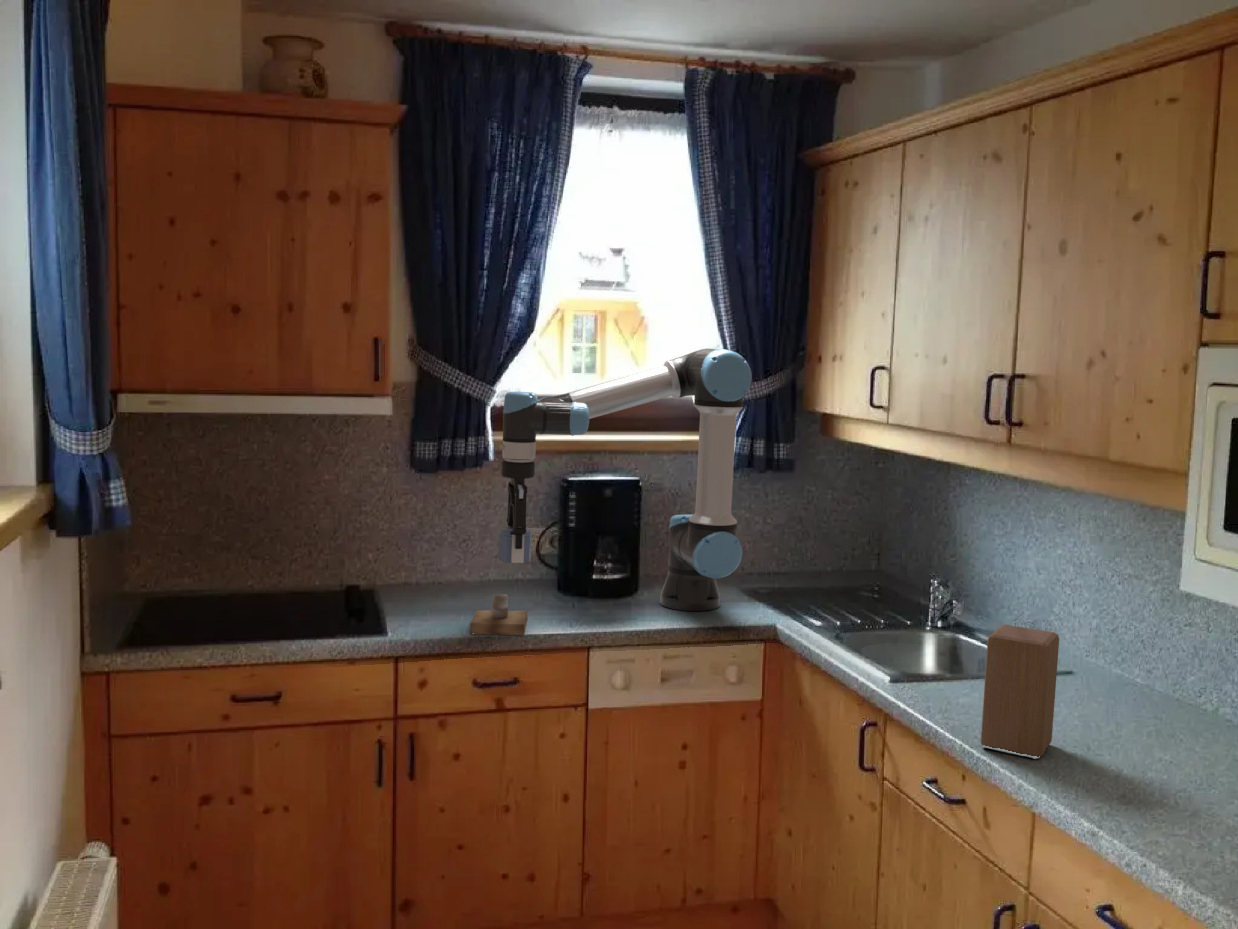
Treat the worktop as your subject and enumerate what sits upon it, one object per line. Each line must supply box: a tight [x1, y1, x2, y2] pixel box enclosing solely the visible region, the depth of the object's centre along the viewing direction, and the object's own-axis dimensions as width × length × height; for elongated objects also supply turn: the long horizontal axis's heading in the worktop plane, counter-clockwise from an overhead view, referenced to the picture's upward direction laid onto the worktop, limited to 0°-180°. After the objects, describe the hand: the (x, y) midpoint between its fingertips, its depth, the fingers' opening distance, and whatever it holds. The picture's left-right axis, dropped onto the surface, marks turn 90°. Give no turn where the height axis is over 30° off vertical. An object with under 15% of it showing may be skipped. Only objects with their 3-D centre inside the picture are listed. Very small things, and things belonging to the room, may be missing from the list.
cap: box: [498, 526, 533, 564], centre depth 262 cm, size 7×7×7 cm
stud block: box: [470, 593, 529, 636], centre depth 263 cm, size 12×12×8 cm
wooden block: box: [980, 624, 1060, 757], centre depth 195 cm, size 10×10×20 cm
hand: (515, 558), depth 262 cm, fingers closed on cap, 7 cm apart
